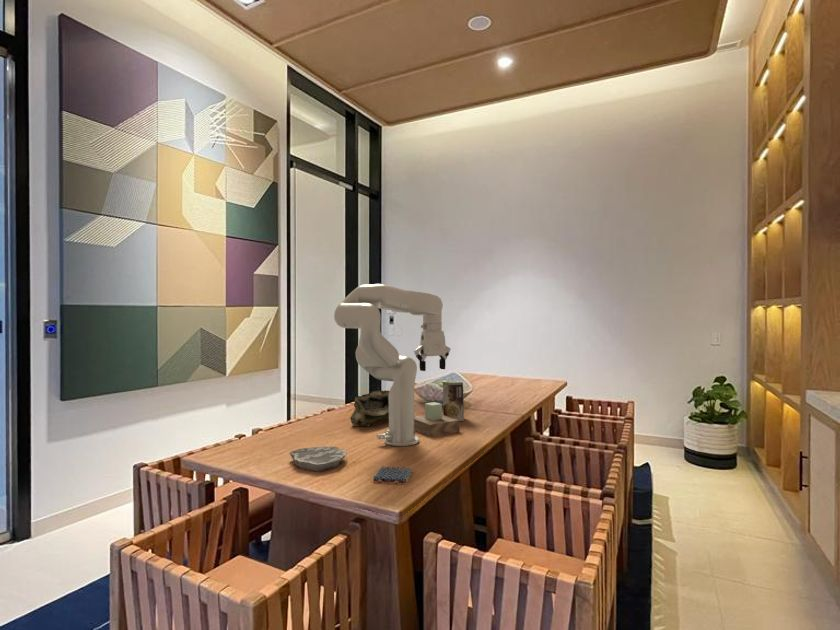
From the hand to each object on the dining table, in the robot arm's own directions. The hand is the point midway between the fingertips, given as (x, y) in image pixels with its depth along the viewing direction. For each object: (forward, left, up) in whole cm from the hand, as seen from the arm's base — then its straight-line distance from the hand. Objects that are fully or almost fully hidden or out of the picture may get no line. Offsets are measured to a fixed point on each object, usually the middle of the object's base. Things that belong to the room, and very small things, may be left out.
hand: (432, 369), depth 196 cm
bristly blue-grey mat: (-42, -39, -25) cm, 62 cm away
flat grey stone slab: (-54, -13, -25) cm, 61 cm away
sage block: (0, 0, -20) cm, 20 cm away
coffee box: (+18, +10, -24) cm, 32 cm away
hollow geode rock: (-11, +26, -25) cm, 38 cm away
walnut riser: (0, 0, -25) cm, 25 cm away
